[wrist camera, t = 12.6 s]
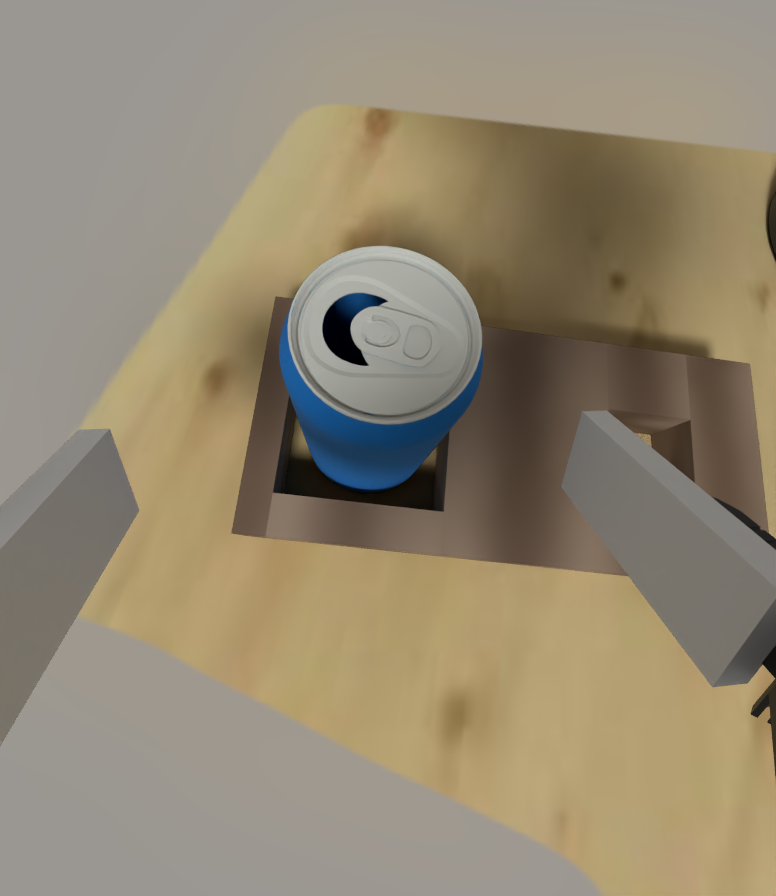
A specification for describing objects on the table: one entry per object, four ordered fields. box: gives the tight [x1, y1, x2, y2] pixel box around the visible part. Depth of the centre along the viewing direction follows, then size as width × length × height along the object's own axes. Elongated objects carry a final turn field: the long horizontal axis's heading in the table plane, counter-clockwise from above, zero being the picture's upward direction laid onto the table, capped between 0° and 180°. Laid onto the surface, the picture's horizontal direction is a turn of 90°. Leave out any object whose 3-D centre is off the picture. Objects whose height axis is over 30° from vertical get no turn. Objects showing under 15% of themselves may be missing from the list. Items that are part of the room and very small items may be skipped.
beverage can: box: [279, 246, 483, 493], centre depth 18 cm, size 6×6×12 cm
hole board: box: [232, 297, 769, 576], centre depth 23 cm, size 26×12×3 cm, turn 84°
